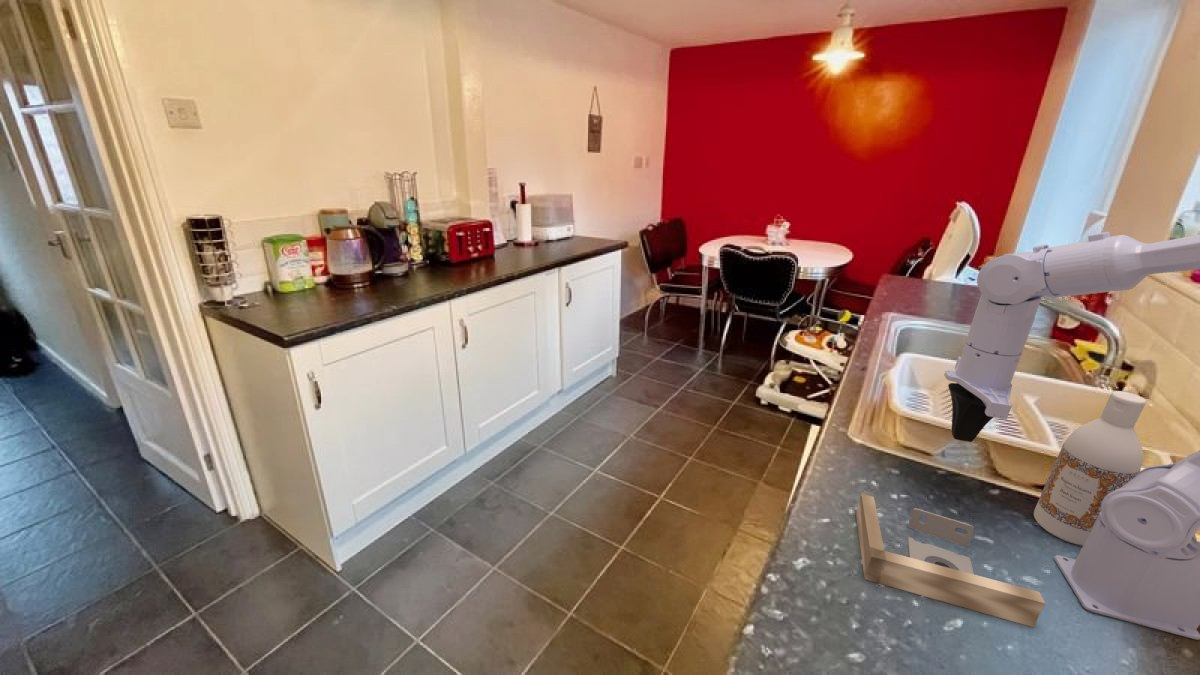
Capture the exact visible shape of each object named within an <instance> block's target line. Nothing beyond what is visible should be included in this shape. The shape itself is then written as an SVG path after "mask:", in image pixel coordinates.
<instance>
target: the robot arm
mask: <svg viewBox="0 0 1200 675" xmlns="http://www.w3.org/2000/svg"><path fill="white" fill-rule="evenodd" d="M1197 270H1200V234H1196V235H1191V236H1186V237H1184V236H1183V237H1178V238H1174V239H1167V240H1163V241H1157V242H1156V241H1155V242H1152V243H1145V242H1142V241H1139V240H1137V239H1135V238H1133V237H1131V236H1129V235H1126V234H1118V235H1113V236H1111V233H1110V232H1109V231H1104V232H1099V233H1092V234H1089V235H1088V236H1087V240H1083V241H1079V242H1073V243H1069V244H1061V245H1058V246H1051V247H1049V245H1048V243H1047V244H1046V243H1045V244H1040V245H1036V246H1033V247H1032V251H1023V252H1018V253H1004V254H1003V255H1001V256H998V257H995V258H993V259H990V260H989V261H987V262H986V263H984V265H983V266H981V268H980V270H979V271H978V273H977V278H976V282H977V283H976V284H977V287H978V290H979V292H980V293H981V294H980V297H979V301H978V304H977V307H976V309H975V312H974V315H973V319H972V320H971V325H970V328H969V331H968V333H967V338H966V340H965V344H964V347H963V349H962V351H961V356H958V357H957V359H956V363H955V366H954V370H945V371H944V377H945V379H946V380H947V381H949V382H950V383H948V384H947V385H948V390H949V393H950V399H951V406H952V408H951V409H952V412H951V413H952V414H951V415H952V416H951V420H952V421H951V435H952V437H953V439H954V440H958V441H962V442H968V443H973V441H974V440H975V439H976V438H977V437H978V436H979V434H980V433H981V431H982V430H983V429H984V427H985V426H986V425H987V424H988V423H989V422H990V421H991V420H992V419H993V418H996V419H1003V420H1007V419H1008V417H1009V415H1010V412H1011V409H1012V406H1013V405H1012V403H1011V401H1010V398H1011V392H1012V389H1013V388H1012V387H1013V384H1012V381H1013V378H1014V376H1015V374H1016V370H1017V368H1018V365H1019V362H1020V359H1021V357H1022V354H1023V351H1024V349H1025V346H1026V342H1027V341H1028V337H1029V335H1030V333H1031V330H1032V327H1033V325H1034V322H1035V319H1036V314H1037V312H1038V309H1039V306H1040V304H1041V302H1042V298H1043V297H1047V298H1061V297H1062V298H1063V297H1071V296H1081V295H1091V294H1099V293H1100V294H1101V293H1108V292H1109V293H1110V292H1120V291H1129V290H1132V289H1134V288H1135V287H1136V286H1138V285H1139V284H1140V283H1141V282H1142V281H1143V280H1145V278H1146V277H1149V275H1154V274H1156V275H1157V274H1164V273H1166V274H1167V273H1176V272H1184V271H1185V272H1186V271H1197ZM1198 531H1200V450H1198V451H1196V452H1194V453H1191V454H1189V455H1187V456H1185V457H1183V458H1182V459H1180V460H1179V461H1176V462H1173V463H1169V464H1157V465H1151V466H1148V467H1145V468H1143V469H1141V470H1140V472H1138V473H1137V475H1136V476H1135V477H1134V478H1133V479H1132V480H1131V481H1129V482H1128V483H1126V484H1125V485H1124V486H1122V487H1121V488H1120V489H1117V490H1115V491H1113V492H1111V493H1109V494H1108V495H1107V496H1106V497H1105V498H1104V499H1103V501H1102V504H1101V511H1100V514H1099V515H1098V517H1097V519H1096V521H1095V523H1094V525H1093V527H1092V529H1091V531H1090V533H1089V535H1088V537H1087V539H1086V541H1085V543H1084V545H1082V547H1081V549H1080V551H1079V553H1078V556H1077V557H1076V559H1075V558H1070V557H1068V556H1062V555H1058V554H1057V555H1054V558H1053V559H1054V561H1055V562H1056V564H1057V566H1058V568H1059V569H1060V571H1061V573H1062V574H1063V576H1064V577H1065V579H1066V580H1067V582H1068V584H1069V586H1070V588H1071V589H1072V590H1073V592H1074V594H1075V595H1076V597H1077V599H1078V601H1079V602H1080V603H1081V606H1082V607H1083V608H1084V609H1085V610H1086V611H1088V612H1092V613H1094V614H1095V613H1096V614H1099V615H1103V616H1107V617H1111V618H1115V619H1118V620H1121V621H1126V622H1129V623H1133V624H1136V625H1140V626H1143V627H1148V628H1152V629H1155V630H1159V631H1162V632H1167V633H1171V634H1173V635H1177V636H1182V637H1185V638H1188V639H1189V638H1190V639H1192V640H1197V641H1198V640H1200V632H1199V631H1198V630H1197V629H1198V628H1199V626H1200V541H1198V540H1197V537H1196V534H1197V533H1198Z"/></svg>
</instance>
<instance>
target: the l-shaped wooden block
mask: <svg viewBox="0 0 1200 675" xmlns="http://www.w3.org/2000/svg"><path fill="white" fill-rule="evenodd" d="M855 517H856V518H855V519H856V520H855V521H856V525H857V533H858V542H859V548H860V554H861V562H862V563H861V564H862V569H863V577H864V580H867V581H869V582H874V583H877V584H881V585H884V586H888V587H891V588H895V589H898V590H901V591H905V592H908V593H912V594H916V595H920V596H922V597H927V598H929V599H932V600H935V601H936V600H937V601H939V602H944V603H947V604H950V605H954V606H957V607H960V608H965V609H967V610H971V611H974V612H978V613H982V614H985V615H988V616H993V617H995V618H1000V619H1003V620H1006V621H1010V622H1013V623H1016V624H1021V625H1022V626H1023V625H1024V626H1028V627H1031V628H1035V625H1036V623H1037V621H1038V619H1039V618H1040V615H1041V612H1042V611H1043V610H1044V607H1045V606H1046V601H1045V600H1044V598H1043V597H1042V595H1041V593H1040V591H1038V590H1034V589H1029V588H1026V587H1023V586H1018V585H1016V584H1015V585H1014V584H1012V583H1011V584H1010V583H1008V582H1004V581H999V580H996V579H993V578H989V577H984V576H981V575H977V574H975V573H974V574H970V573H966V572H962V571H959V570H955V569H951V568H947V567H944V566H940V565H936V564H932V563H929V562H925V561H921V560H917V559H913V558H910V557H909V556H906V555H903V554H902V555H901V554H898V553H894V552H889V551H886V550H885V549H884V548H885V547H884V542H883V541H884V540H883V536H882V533H881V528H880V521H879V518H878V517H879V516H878V510H877V506H876V501H875V497H874V496H873V495H868V494H863V493H861V494H860V497H859V500H858V504H857V509H856V512H855Z"/></svg>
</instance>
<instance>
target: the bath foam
mask: <svg viewBox="0 0 1200 675" xmlns="http://www.w3.org/2000/svg"><path fill="white" fill-rule="evenodd" d="M1146 404H1147V400H1146V399H1145V398H1144V397H1143V396H1140V395H1138V394H1135V393H1131V392H1128V391H1124V390H1123V391H1122V390H1115V391H1112V392H1111V393H1110V395H1109V397H1108V399H1107V401H1106V403H1105V406H1104V407H1103V410H1102V413H1101V414H1100V416H1099V417H1098V418H1096V419H1093V420H1090V421H1089V422H1087V423H1085V424H1082V425H1081V426H1079V427H1077V428H1075V430H1073V431H1072V432H1071V433H1070V434H1069V435H1068V436H1067V438H1066V439H1065V440H1064V442H1063V443H1062V446H1061V449H1060V451H1059V453H1058V456H1057V458H1056V460H1055V461H1054V464H1053V466H1052V469H1051V471H1050V474H1049V476H1048V478H1047V481H1046V482H1045V484H1044V487H1043V489H1042V492H1041V494H1040V495H1039V496H1040V497H1039V499H1038V501H1037V503H1036V506H1035V507H1034V508H1035V509H1034V511H1033V517H1034V520H1035V521H1036V522H1037V524H1038V525H1039V526H1040V527H1042V528H1043V529H1044V530H1045V531H1046V532H1048V533H1049V534H1051V535H1052V536H1054V537H1057V538H1059V539H1061V540H1063V541H1065V542H1068V543H1070V544H1074V545H1078V546H1083V545H1084V543H1085V541H1086V539H1087V537H1088V535H1089V533H1090V531H1091V529H1092V527H1093V525H1094V523H1095V521H1096V519H1097V517H1098V515H1099V514H1100V511H1101V504H1102V501H1103V499H1104V498H1105V497H1106V496H1107V495H1108V494H1109V493H1111V492H1113V491H1115V490H1117V489H1120V488H1121V487H1122V486H1124V485H1125V484H1126V483H1128V482H1129V481H1131V480H1132V479H1133V478H1134V477H1135V476H1136V475H1137V473H1138V472H1140V471H1141V470H1142V469H1141V468H1142V466H1143V463H1144V462H1143V460H1144V451H1143V447H1142V446H1143V445H1142V443H1141V441H1140V438H1139V436H1138V434H1137V431H1136V430H1135V426H1136V423H1138V420H1139V418H1140V416H1141V414H1142V412H1143V410H1144V408H1145V406H1146Z"/></svg>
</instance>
